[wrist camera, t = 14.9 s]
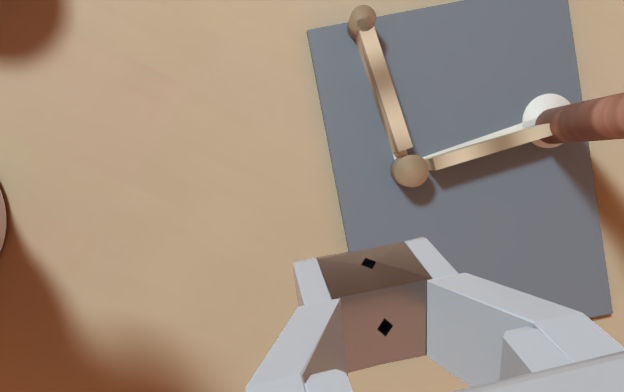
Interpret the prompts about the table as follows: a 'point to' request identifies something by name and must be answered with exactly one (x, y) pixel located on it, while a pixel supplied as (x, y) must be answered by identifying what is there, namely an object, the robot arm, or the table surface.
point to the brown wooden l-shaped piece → (550, 130)
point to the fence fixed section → (386, 98)
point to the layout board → (466, 131)
